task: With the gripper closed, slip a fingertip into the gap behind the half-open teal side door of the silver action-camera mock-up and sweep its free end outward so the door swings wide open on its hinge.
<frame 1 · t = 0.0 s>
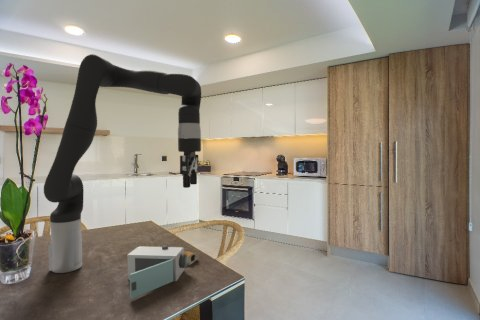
hand: (190, 185, 96), 29 cm above the table, tool pointing down, fingers open, 8 cm apart
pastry: (184, 262, 106), on the table
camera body: (156, 274, 95), on the table
door: (154, 277, 84), point 4 cm above the table, hinge at 55.0°
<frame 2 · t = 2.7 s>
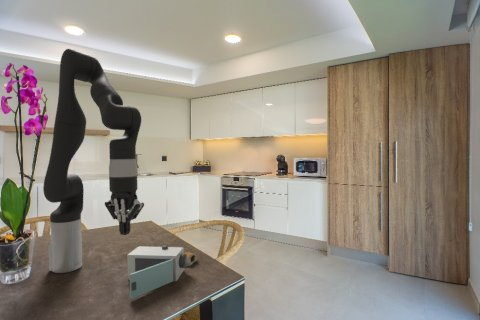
hand: (124, 234, 83), 17 cm above the table, tool pointing down, fingers closed
nothing on the table moved.
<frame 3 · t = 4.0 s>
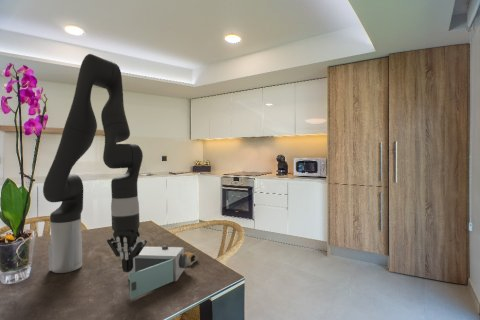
hand: (127, 271, 84), 6 cm above the table, tool pointing down, fingers closed
nothing on the table moved.
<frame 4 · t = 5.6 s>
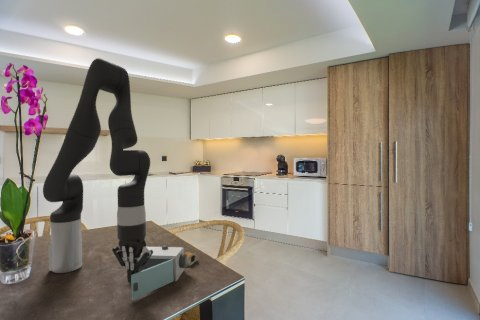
hand: (133, 281, 81), 4 cm above the table, tool pointing down, fingers closed
door: (155, 277, 84), point 4 cm above the table, hinge at 58.3°, touching gripper
everything else where it was.
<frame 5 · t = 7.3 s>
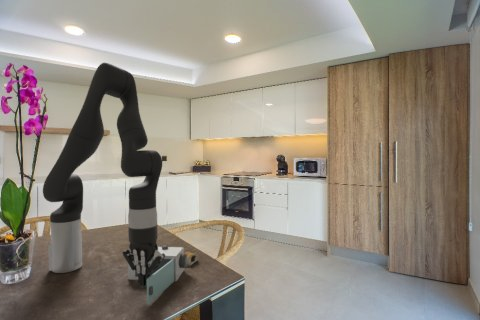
hand: (144, 285, 79), 4 cm above the table, tool pointing down, fingers closed
door: (162, 279, 82), point 4 cm above the table, hinge at 80.8°, touching gripper
everything else where it was.
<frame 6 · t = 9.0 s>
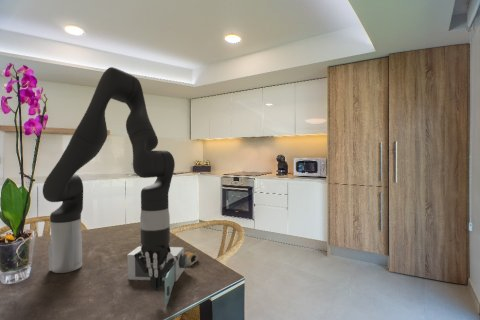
hand: (156, 288, 77), 4 cm above the table, tool pointing down, fingers closed
door: (170, 279, 82), point 4 cm above the table, hinge at 100.5°, touching gripper
everything else where it was.
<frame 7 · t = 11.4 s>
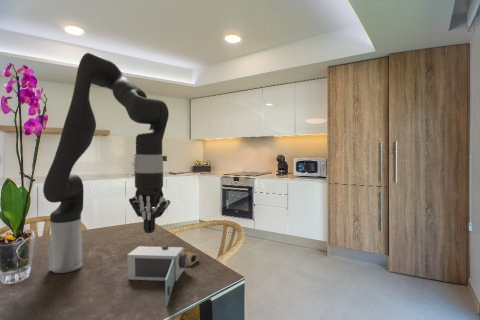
hand: (149, 232, 80), 18 cm above the table, tool pointing down, fingers closed
door: (171, 279, 82), point 4 cm above the table, hinge at 101.1°
everything else where it was.
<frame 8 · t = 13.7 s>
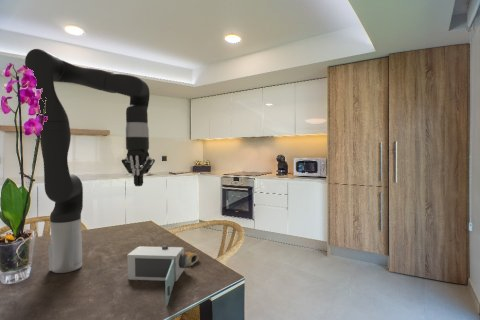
hand: (138, 185, 100), 29 cm above the table, tool pointing down, fingers closed
nothing on the table moved.
at the end: door at +101° (first picture: +55°) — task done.
